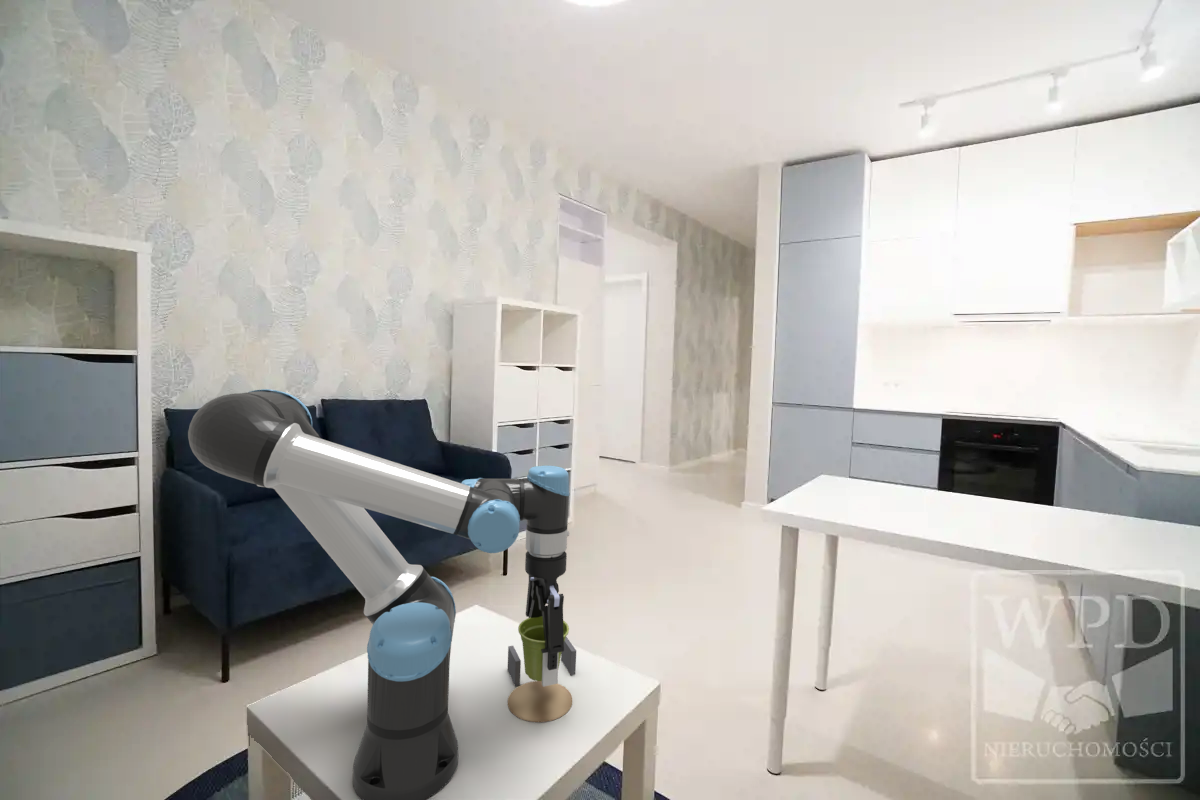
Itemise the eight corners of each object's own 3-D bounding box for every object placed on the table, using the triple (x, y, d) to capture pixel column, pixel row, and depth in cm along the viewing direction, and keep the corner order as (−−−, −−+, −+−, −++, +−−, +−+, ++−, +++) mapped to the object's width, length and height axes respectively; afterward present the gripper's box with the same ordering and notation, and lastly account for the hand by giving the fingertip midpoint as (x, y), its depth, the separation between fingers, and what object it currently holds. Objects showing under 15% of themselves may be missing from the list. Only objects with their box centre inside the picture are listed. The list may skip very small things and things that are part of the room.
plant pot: (570, 660, 104) (572, 617, 103) (562, 690, 94) (564, 643, 94) (523, 655, 104) (525, 613, 104) (510, 684, 95) (512, 638, 94)
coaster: (516, 728, 92) (517, 727, 92) (501, 689, 103) (501, 687, 103) (581, 713, 96) (581, 712, 96) (560, 677, 107) (560, 676, 107)
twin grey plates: (514, 686, 104) (515, 661, 103) (507, 670, 109) (508, 646, 109) (575, 674, 109) (576, 650, 108) (565, 659, 114) (566, 636, 114)
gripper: (586, 569, 90) (581, 699, 91) (548, 532, 109) (544, 639, 110) (544, 574, 87) (539, 708, 88) (512, 535, 106) (508, 646, 107)
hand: (542, 670), depth 99 cm, fingers closed on plant pot, 8 cm apart
